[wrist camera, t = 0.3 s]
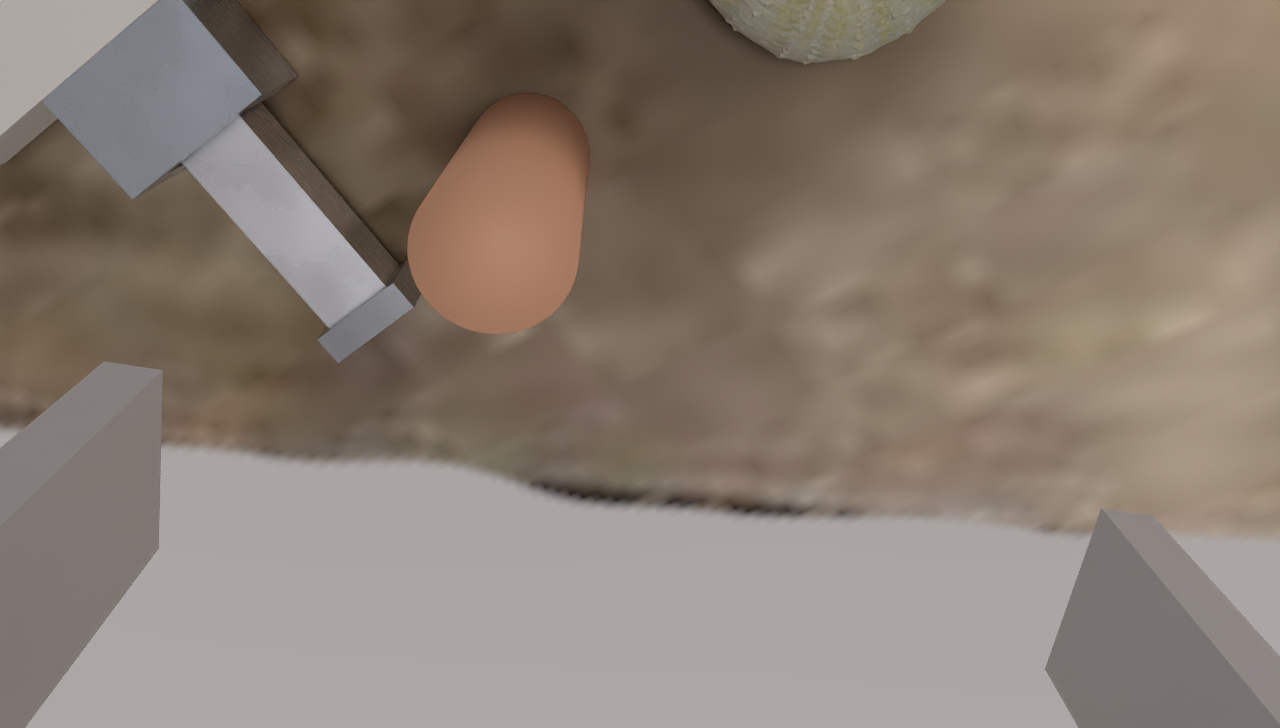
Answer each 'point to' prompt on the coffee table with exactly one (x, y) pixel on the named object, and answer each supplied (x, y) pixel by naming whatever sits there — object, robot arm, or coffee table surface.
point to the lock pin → (304, 229)
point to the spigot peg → (504, 218)
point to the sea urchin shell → (824, 25)
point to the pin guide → (168, 88)
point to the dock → (49, 56)
